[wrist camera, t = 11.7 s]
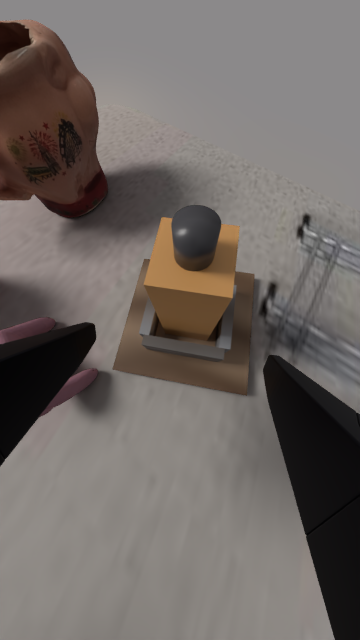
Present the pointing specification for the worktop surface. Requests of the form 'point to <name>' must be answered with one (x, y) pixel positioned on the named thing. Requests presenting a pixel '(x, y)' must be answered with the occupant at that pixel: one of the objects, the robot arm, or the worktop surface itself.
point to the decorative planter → (46, 123)
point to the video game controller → (42, 326)
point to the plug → (192, 271)
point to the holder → (190, 343)
